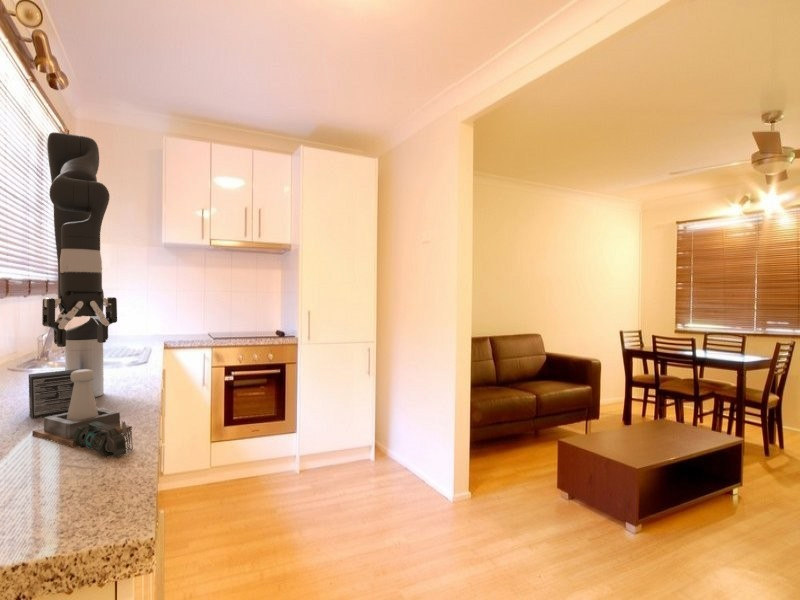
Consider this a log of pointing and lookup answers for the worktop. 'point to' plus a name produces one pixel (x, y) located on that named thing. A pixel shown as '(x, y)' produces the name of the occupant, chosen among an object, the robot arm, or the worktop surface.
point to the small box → (50, 393)
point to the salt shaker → (82, 396)
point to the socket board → (75, 426)
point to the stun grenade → (103, 439)
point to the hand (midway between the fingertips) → (82, 344)
